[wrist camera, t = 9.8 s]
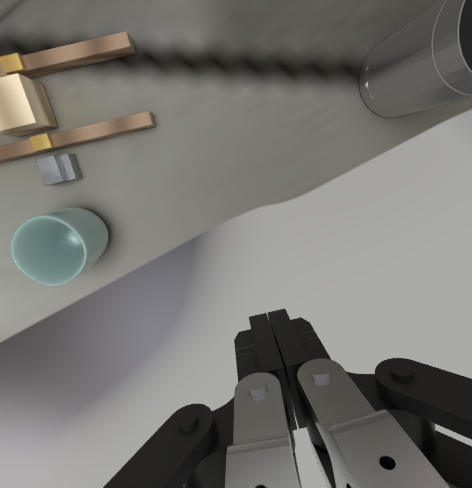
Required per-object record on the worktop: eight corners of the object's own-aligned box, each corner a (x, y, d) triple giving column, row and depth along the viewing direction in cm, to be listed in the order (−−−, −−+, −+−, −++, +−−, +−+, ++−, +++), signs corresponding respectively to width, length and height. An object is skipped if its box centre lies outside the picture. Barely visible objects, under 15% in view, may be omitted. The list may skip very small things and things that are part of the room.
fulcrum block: (74, 154, 41) (61, 153, 37) (82, 177, 41) (70, 179, 38) (44, 161, 41) (28, 161, 37) (53, 184, 41) (38, 186, 38)
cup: (91, 270, 45) (56, 300, 35) (44, 232, 43) (-6, 253, 33) (127, 231, 43) (101, 250, 34) (80, 191, 42) (40, 199, 32)
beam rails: (132, 39, 38) (124, 27, 35) (156, 127, 40) (151, 124, 37) (-44, 80, 38) (-68, 72, 35) (-9, 165, 40) (-28, 165, 37)
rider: (42, 84, 38) (17, 73, 33) (57, 127, 40) (35, 122, 35) (2, 93, 38) (-29, 84, 33) (18, 136, 40) (-9, 132, 35)
